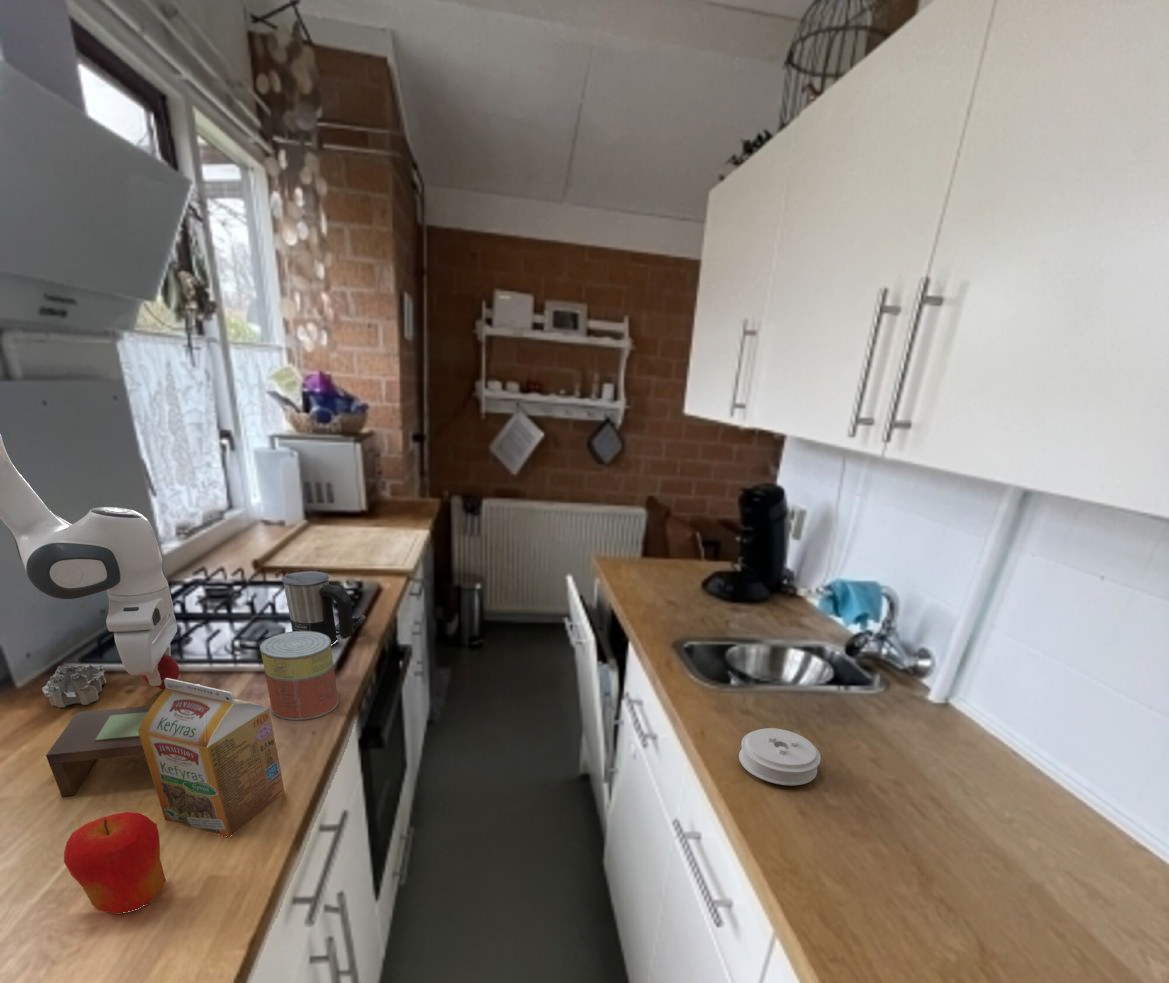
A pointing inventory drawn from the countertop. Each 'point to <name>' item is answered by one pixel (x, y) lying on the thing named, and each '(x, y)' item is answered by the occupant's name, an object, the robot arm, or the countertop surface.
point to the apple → (117, 861)
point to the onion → (166, 670)
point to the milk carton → (210, 757)
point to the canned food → (300, 674)
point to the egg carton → (74, 685)
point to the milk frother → (319, 605)
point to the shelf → (94, 743)
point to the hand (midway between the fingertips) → (161, 675)
